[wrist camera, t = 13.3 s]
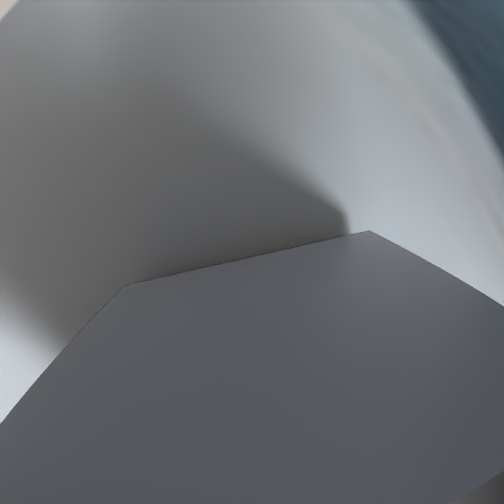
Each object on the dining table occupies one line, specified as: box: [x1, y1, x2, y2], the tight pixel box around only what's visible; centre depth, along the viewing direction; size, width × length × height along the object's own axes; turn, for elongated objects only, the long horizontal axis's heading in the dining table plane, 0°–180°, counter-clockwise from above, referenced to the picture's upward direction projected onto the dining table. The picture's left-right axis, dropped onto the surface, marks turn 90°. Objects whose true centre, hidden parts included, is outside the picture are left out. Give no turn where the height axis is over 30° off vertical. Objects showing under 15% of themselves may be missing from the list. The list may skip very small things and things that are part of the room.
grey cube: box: [0, 230, 504, 504], centre depth 6 cm, size 8×8×8 cm
